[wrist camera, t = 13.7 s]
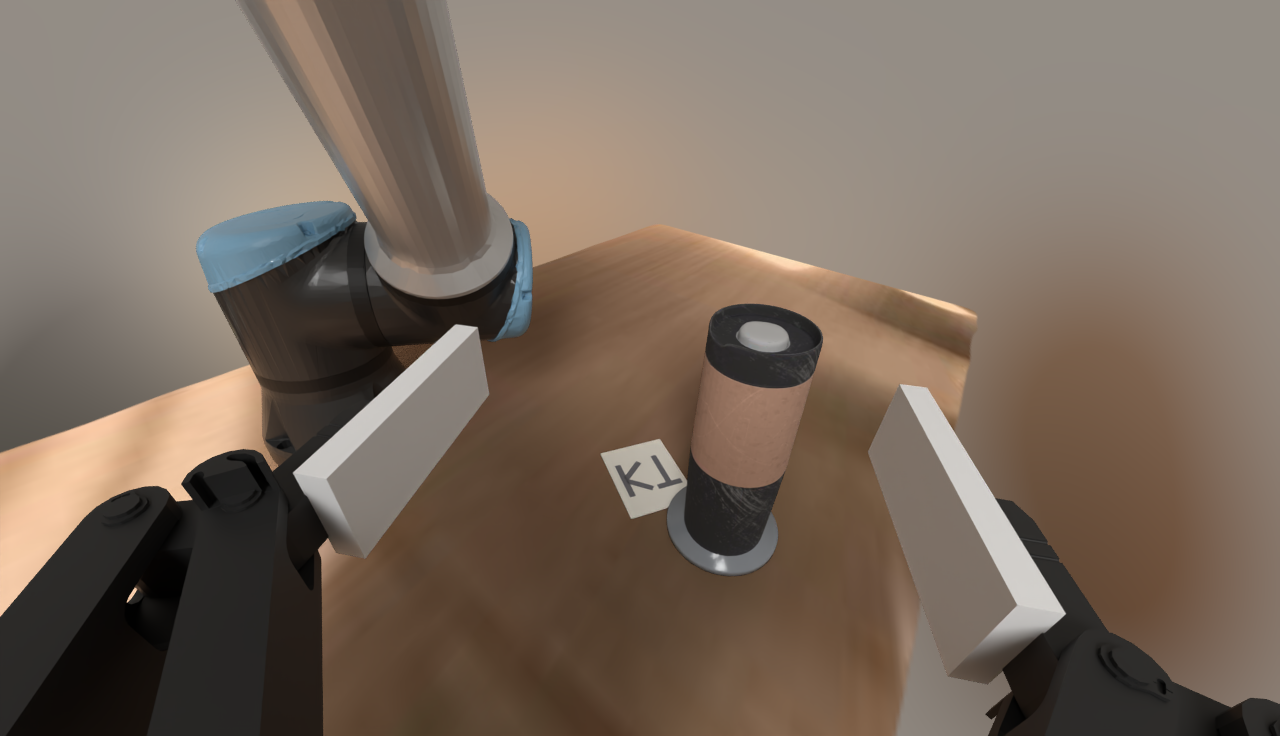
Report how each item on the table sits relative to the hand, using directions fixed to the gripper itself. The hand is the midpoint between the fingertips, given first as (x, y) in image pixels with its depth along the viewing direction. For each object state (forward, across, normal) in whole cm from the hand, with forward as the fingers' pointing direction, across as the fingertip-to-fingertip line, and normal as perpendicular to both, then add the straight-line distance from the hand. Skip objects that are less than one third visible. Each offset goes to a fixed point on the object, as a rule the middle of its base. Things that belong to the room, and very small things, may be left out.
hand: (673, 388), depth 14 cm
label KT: (+20, -2, -26) cm, 33 cm away
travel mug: (+16, +5, -26) cm, 31 cm away
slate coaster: (+16, +5, -26) cm, 31 cm away
